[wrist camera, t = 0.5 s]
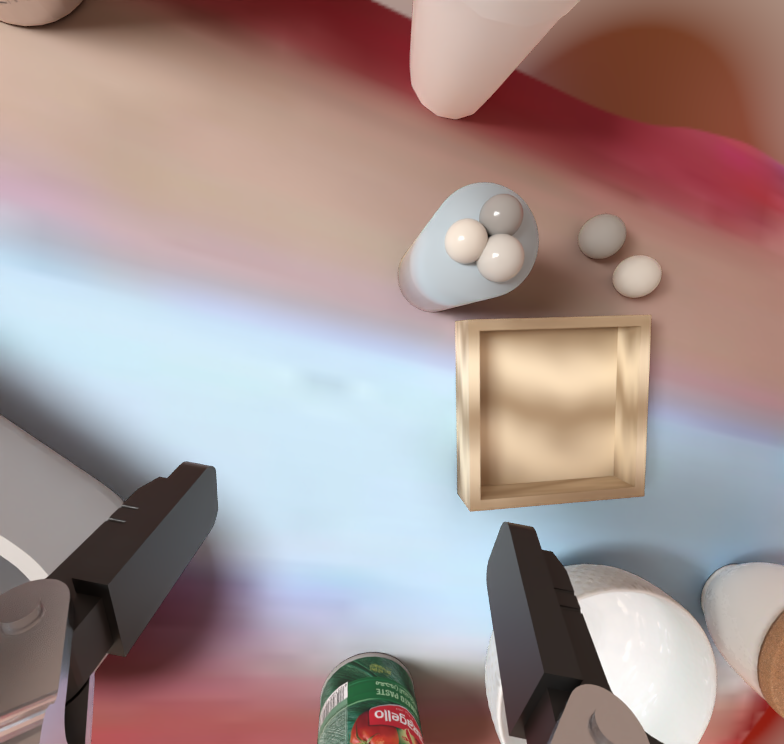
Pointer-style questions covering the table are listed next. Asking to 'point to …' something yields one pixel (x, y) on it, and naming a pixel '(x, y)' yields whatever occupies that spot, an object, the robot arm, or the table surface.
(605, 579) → the cereal bowl
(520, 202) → the pebble jar
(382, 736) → the canned tomato
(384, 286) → the table surface
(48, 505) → the ice cube tray
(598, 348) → the birch tray
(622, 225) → the pebble
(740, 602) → the lidded jar
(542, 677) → the robot arm
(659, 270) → the pebble
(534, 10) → the foam cup
